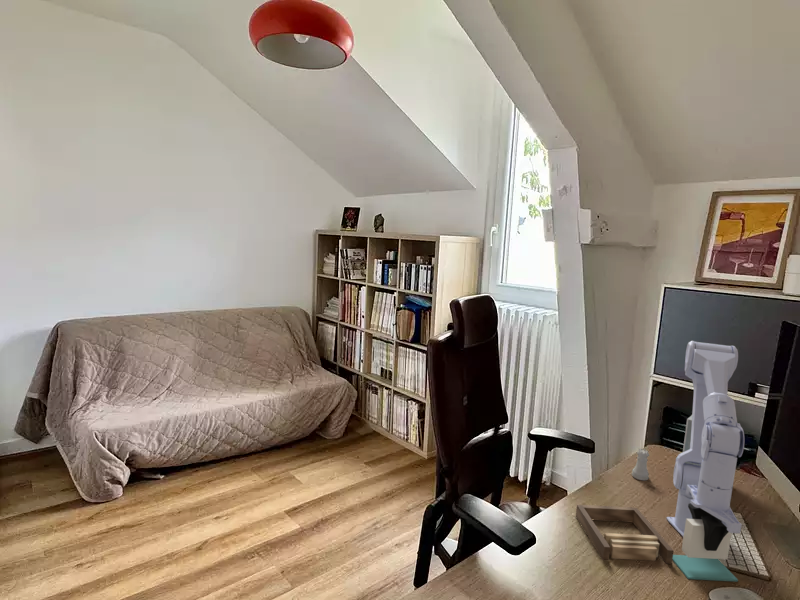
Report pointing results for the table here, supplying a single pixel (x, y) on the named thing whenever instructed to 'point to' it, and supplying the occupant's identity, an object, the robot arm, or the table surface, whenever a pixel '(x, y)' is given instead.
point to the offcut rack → (618, 514)
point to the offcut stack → (632, 546)
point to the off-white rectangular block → (702, 542)
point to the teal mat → (703, 568)
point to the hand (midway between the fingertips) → (705, 545)
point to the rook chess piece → (641, 466)
